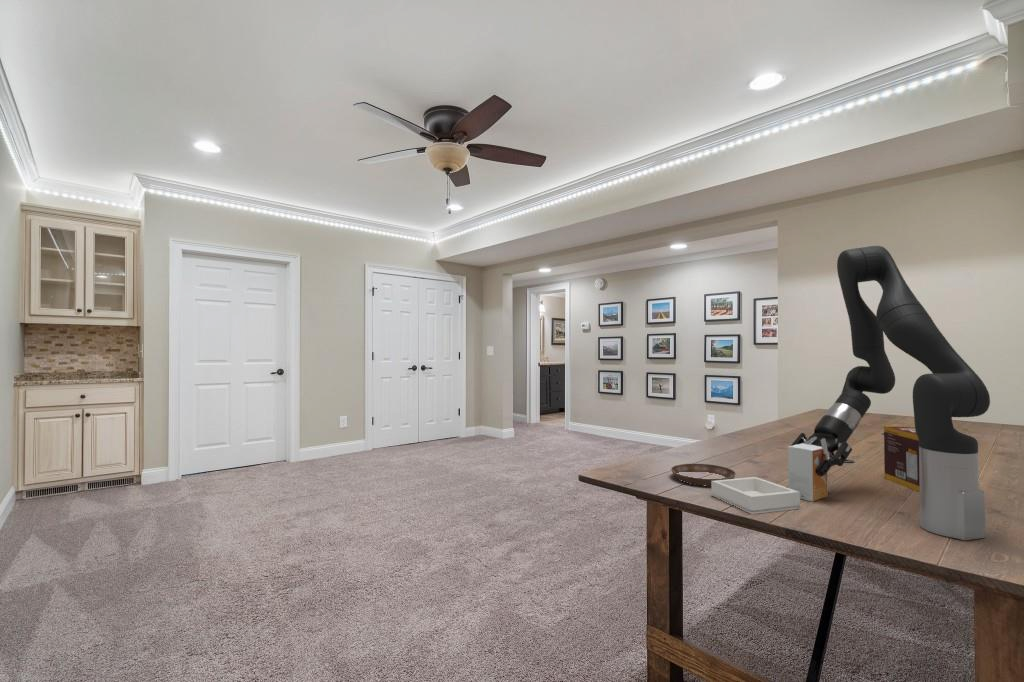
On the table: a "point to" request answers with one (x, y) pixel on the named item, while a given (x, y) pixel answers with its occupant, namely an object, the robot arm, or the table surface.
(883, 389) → the robot arm
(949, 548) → the table surface
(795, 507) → the grey basin
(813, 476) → the small box
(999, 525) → the table surface
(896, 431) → the supplement box
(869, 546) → the table surface
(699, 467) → the brown round ring
